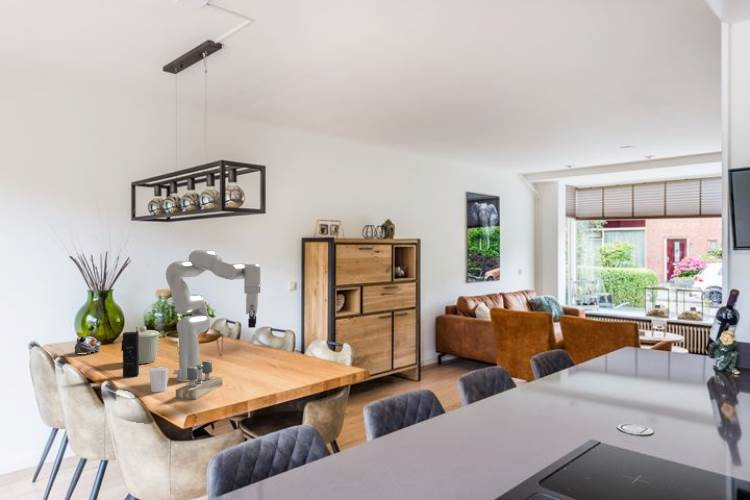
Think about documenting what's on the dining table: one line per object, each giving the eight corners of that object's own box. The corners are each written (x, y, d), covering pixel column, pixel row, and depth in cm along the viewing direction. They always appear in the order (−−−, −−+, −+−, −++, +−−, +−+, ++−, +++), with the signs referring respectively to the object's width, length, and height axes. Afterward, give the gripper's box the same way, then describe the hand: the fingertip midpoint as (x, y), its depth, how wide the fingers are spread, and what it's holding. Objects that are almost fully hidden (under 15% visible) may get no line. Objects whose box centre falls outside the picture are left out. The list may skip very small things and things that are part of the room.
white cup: (170, 387, 230) (170, 366, 230) (164, 392, 222) (164, 371, 222) (154, 388, 230) (153, 367, 230) (146, 393, 222) (146, 371, 222)
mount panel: (175, 398, 214) (175, 389, 214) (203, 384, 235) (203, 376, 235) (196, 399, 212) (195, 390, 212) (222, 385, 233) (222, 377, 233)
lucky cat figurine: (103, 350, 317) (106, 333, 312) (94, 361, 306) (97, 343, 301) (79, 344, 314) (81, 327, 309) (69, 355, 303) (72, 337, 298)
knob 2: (200, 382, 228) (200, 362, 228) (205, 379, 232) (205, 359, 232) (208, 382, 227) (208, 362, 227) (213, 380, 231) (213, 360, 231)
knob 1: (185, 389, 216) (184, 368, 216) (190, 386, 220) (190, 365, 220) (193, 390, 215) (193, 368, 215) (199, 387, 219) (199, 366, 219)
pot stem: (195, 383, 222) (195, 365, 222) (198, 381, 225) (198, 364, 225) (201, 383, 222) (200, 366, 222) (204, 382, 225) (204, 364, 225)
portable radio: (120, 377, 248) (119, 329, 248) (123, 375, 254) (122, 327, 254) (137, 376, 250) (136, 328, 250) (139, 373, 256) (139, 326, 256)
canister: (159, 364, 278) (159, 327, 277) (124, 367, 271) (123, 329, 271) (160, 357, 294) (160, 323, 294) (127, 360, 288) (127, 325, 288)
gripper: (245, 288, 239) (245, 323, 239) (243, 291, 222) (243, 329, 222) (260, 288, 240) (260, 322, 241) (259, 291, 224) (259, 328, 224)
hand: (252, 325), depth 231 cm, fingers open, 9 cm apart
